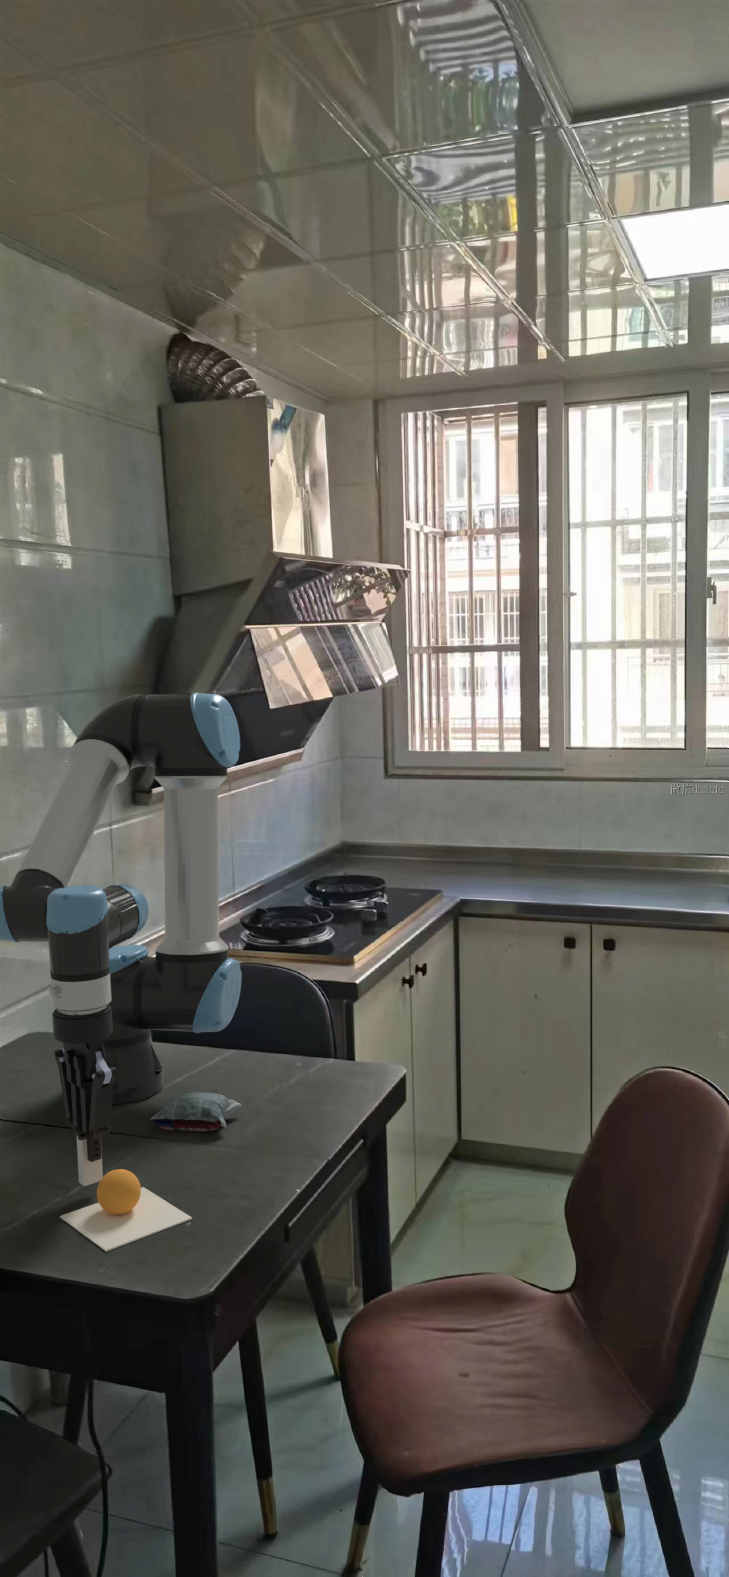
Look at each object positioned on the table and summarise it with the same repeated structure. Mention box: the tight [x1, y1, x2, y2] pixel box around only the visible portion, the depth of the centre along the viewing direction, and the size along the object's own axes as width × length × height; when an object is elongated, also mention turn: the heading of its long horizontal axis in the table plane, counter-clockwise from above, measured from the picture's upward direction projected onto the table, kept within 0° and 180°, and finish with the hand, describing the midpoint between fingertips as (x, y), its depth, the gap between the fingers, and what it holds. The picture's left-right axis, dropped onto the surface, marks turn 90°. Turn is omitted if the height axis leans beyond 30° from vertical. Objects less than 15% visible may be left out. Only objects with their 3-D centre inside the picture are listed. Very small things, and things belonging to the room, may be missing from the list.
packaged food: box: [149, 1091, 243, 1132], centre depth 179 cm, size 9×12×5 cm
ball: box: [96, 1168, 142, 1215], centre depth 150 cm, size 6×6×6 cm
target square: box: [59, 1186, 193, 1253], centre depth 149 cm, size 12×12×1 cm
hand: (91, 1181), depth 156 cm, fingers closed
